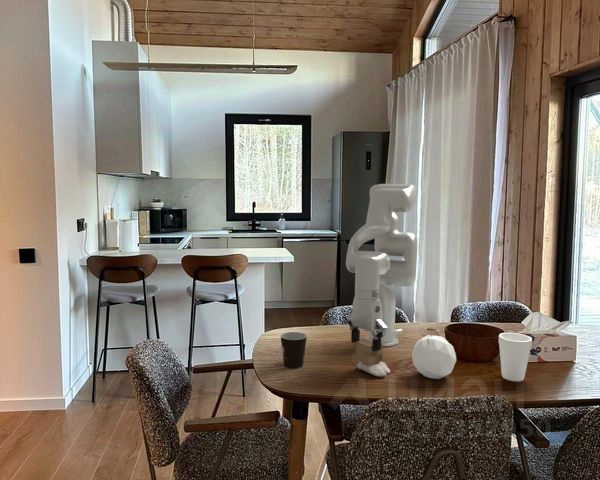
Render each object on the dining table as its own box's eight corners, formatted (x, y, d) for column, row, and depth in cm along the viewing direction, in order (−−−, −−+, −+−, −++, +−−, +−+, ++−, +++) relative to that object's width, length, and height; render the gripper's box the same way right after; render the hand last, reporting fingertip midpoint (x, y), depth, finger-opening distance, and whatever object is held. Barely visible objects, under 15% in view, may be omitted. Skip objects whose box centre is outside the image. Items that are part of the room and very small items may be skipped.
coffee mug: (303, 370, 160) (304, 340, 159) (277, 368, 161) (277, 338, 160) (310, 358, 171) (310, 330, 170) (285, 356, 173) (286, 328, 172)
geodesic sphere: (450, 373, 143) (456, 329, 150) (403, 365, 149) (411, 323, 156) (455, 388, 154) (461, 346, 161) (411, 380, 161) (419, 340, 167)
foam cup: (526, 385, 150) (529, 343, 148) (494, 379, 155) (496, 338, 153) (531, 375, 158) (533, 335, 156) (500, 369, 163) (502, 330, 161)
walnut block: (369, 356, 165) (369, 338, 164) (382, 361, 160) (382, 343, 159) (355, 359, 161) (356, 341, 161) (368, 365, 156) (369, 346, 156)
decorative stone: (391, 381, 153) (387, 368, 168) (393, 369, 153) (389, 357, 168) (356, 375, 154) (355, 363, 169) (358, 363, 154) (357, 352, 169)
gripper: (395, 297, 153) (393, 351, 156) (356, 287, 167) (355, 337, 169) (378, 301, 149) (376, 356, 151) (339, 290, 163) (339, 341, 165)
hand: (365, 346), depth 160 cm, fingers open, 9 cm apart
